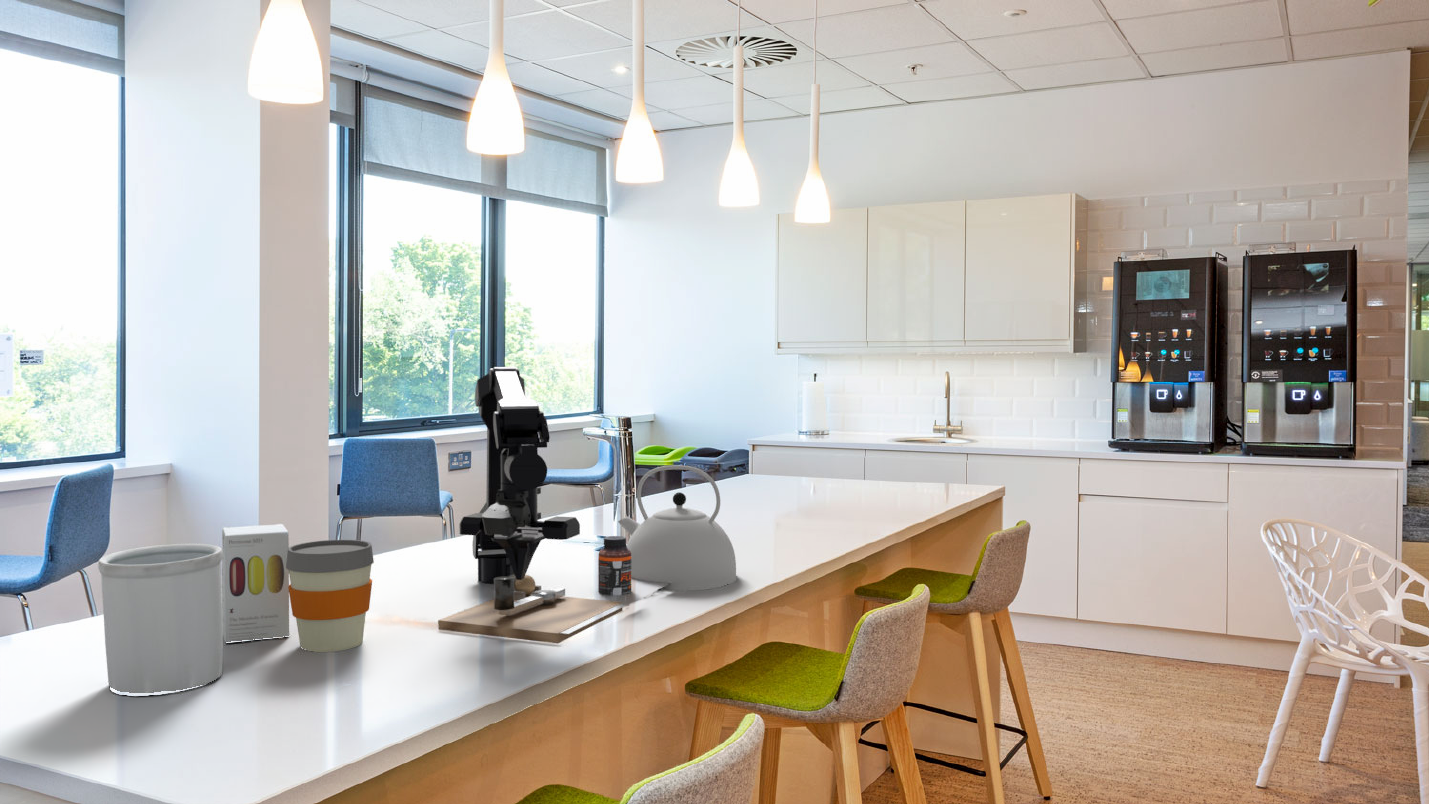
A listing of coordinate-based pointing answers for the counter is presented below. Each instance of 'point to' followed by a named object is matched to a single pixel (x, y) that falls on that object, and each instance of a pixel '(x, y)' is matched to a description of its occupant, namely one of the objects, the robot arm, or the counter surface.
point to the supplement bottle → (614, 567)
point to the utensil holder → (162, 617)
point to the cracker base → (529, 618)
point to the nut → (525, 585)
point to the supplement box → (255, 582)
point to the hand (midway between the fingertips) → (520, 579)
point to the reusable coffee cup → (330, 592)
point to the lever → (509, 607)
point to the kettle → (680, 544)
